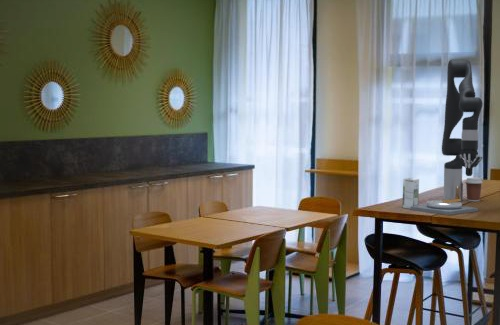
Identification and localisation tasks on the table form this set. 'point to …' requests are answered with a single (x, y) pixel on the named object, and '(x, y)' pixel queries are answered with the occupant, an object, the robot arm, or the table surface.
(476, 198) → the coffee cup
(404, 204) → the syrup box
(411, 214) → the table surface
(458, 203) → the dial
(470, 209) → the base
